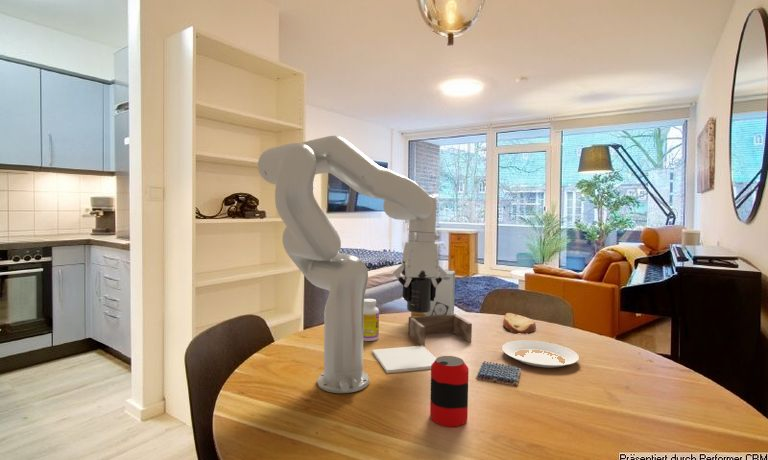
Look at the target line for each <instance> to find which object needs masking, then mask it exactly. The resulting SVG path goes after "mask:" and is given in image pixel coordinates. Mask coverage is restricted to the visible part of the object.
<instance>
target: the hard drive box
mask: <svg viewBox="0 0 768 460" xmlns="http://www.w3.org/2000/svg"><path fill="white" fill-rule="evenodd" d="M443 270H444V271H445V272H446V274H447V275H446V276H445V277H444V278H443V279H442V281H441V282H440V283H439V284H438V286H437V287H436V295H435V298H434V301H431V309H430V311H429V312H426V313H415V312H410V317H418V316H434V315H450V314H455V295H456V294H455V290H456V289H455V287H456V286H455V285H456V271H455V270H445V269H443ZM438 276H439V272H438ZM438 276H437V277H438ZM437 277H435V279H436V278H437Z"/></svg>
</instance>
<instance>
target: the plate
mask: <svg viewBox="0 0 768 460" xmlns="http://www.w3.org/2000/svg"><path fill="white" fill-rule="evenodd" d="M501 349H502V352H504V354H506V355H507V356H509V357H511V358H513V359H515V360H517V362H520V363H522V364H524V365H525V364H526V365H528V366H533V367H538V368H539V367H540V368H547V369H549V368H559V367H564V366H568V365H573V364H575V363H577V362H578V361H579V359H580V356H579V354H578V353H577V352H575V351H574V350H572V349H571V348H569V347H566V346H564V345H563V346H562V345H560V344H557V343H553V342H549V341H548V342H547V341H542V340H536V339H535V340H534V339H533V340H532V339H531V340H530V339H529V340H528V339H520V340H519V339H518V340H512V341H507V342H505V343H504V344H503V345H502V346H501ZM519 350H529V353H528V352H527V353H525V354H526V355H524V357H522V356H520V355H517V356H515V352H517V351H519ZM532 350H540V351H543V352H542V353H535V352H533V353H531V352H532ZM544 351H546V352H550V353H552V354H556V355H558V356H561V357H562V358H563V359H565V363H564V364H563V363H561V362H559V360H558V359H557V357H558V356H555V355H552V356H550V354H549V355H547V354H548V353H544ZM543 353H544V354H543ZM552 357H553V359H552ZM555 357H556V358H555Z"/></svg>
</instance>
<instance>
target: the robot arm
mask: <svg viewBox="0 0 768 460" xmlns="http://www.w3.org/2000/svg"><path fill="white" fill-rule="evenodd" d="M257 160H258V161H257V169H258V170H257V171H258V173H259V174H260V175H259V176H261V177H262V179H263V180H264V181H266V182H267V183H269V184H272V185H275V189H274V203H275V208H276V211H277V214H278V215H279V217H280V219H281V220H282V222H283V224H284V225H285V227H284V229H283V233H282V246H283V248H284V251H285V253H286V254H287V255H288V257H289V258H290V260H291V261H292V262H293V264H295V266H296V267H297V268H298V270H299V271H300V272H301V273H302V275H303V276H304V277H305V279H306V280H308V282H309V283H311V285H313V286H315V287H316V288H319V289H322V290H326V291H329V292H328V293H329V294H328V297H327V298H326V299H327V300H326V301H325V305H324V311H323V312H324V315H323V322H324V324H323V325H324V328H323V329H324V331H323V335H324V337H323V338H324V339H323V340H324V342H323V344H324V345H323V362H324V363H323V372H322V373H321V374H320V375H319V376H318V377H317V386H318V387H319V388H320V389H321V390H323V391H326V392H328V393H333V394H349V393H350V394H351V393H354V392H358V391H361V390H363V389H365V388H366V387H367V386H368V385H369V384H370V376H369V375H368V373H367V372H365V371H364V341H363V312H364V299H365V297H366V289H367V286H368V285H367V284H368V280H369V271H368V267H367V265H366V264H365V262H364V261H363V260H362V259H360V258H359V257H357V256H355V255H352V254H347V253H342V252H341V253H340V250H341V247H342V241H341V238H340V235H339V233H338V231H337V230H336V228H335V227H334V225H333V224H332V222H331V221H330V220H329V218H328V217H327V215H326V214H325V212H324V211H323V209H322V208H321V206H320V205H319V204H318V202H317V199H316V198H315V196H314V181H315V176H316V175H321V174H330V175H333V176H334V177H335V178H336V179H339V180H340V181H341V182H343V183H344V184H345V185H347V186H348V187H349V188H351V189H352V190H354V191H355V192H357V193H358V194H360V195H363V196H365V197H369V198H374V199H378V200H383V205H382V208H383V211H384V213H385V214H386V216H388V217H389V218H391V219H394V220H399V221H400V220H401V221H403V220H404V221H405V220H408V222H409V223H408V224H409V225H408V242H407V241H406V242H405V244H404V247H403V252H402V253H403V254H402V259H401V260H402V261H401V265H399V267H397V268H396V269H395V270H394V271H393V272H392V275H393V276H394V277H395V279H396V280H397V281H398V283H400V284H401V286H402V298H403V300H404V301H406V302H407V301H410V287H409V284H410V282H411V280H412V278H418V277H419V276H418V275H420V272H421V271H422V272H423V270H424V271H425V275H427V276H425V277H426V278H428V279H430V280H431V301H434V298H435V295H436V287H437V286H438V284H439V283H440V282H441V281H442V279H443V278H444V277H445V276H446V275H447V274H446V272H445V271H444V270H445V269H443V268H442V267H441V266H440V265H439V263H440V262H439V251H438V250H439V249H438V244H437V243H436V241H437V240H440V234H437V233H436V226H437V225H436V223H437V221H436V220H437V198H436V196H434V195H430V194H429V193H428V192H427V191H426V190H425V189H424V188H423V187H422V186H420V185H419V184H418V183H416V182H415V181H414V180H412V179H410V178H408V177H406V176H405V175H402V174H399V173H397V172H395V171H392V170H391V169H388V168H385V167H383V166H380V165H379V164H377V163H376V162H375V161H374V160H372V159H371V158H370V157H368V156H367V154H365V153H363V152H362V151H361V150H359V149H358V148H357V147H356V146H355V145H353V143H351V142H349V140H347V139H346V138H344V137H341V136H340V135H329V136H324V137H319V138H314V139H312V140H306V141H303V142H292V143H287V144H283V145H280V146H274V147H270V148H268V149H266V150H264V151H263V152H262V153H261V154H260V155H259V158H258V159H257ZM438 272H439V276H438ZM401 275H402V276H404V277H402V276H401ZM437 276H438V277H437ZM435 277H437V278H436V279H435Z"/></svg>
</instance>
